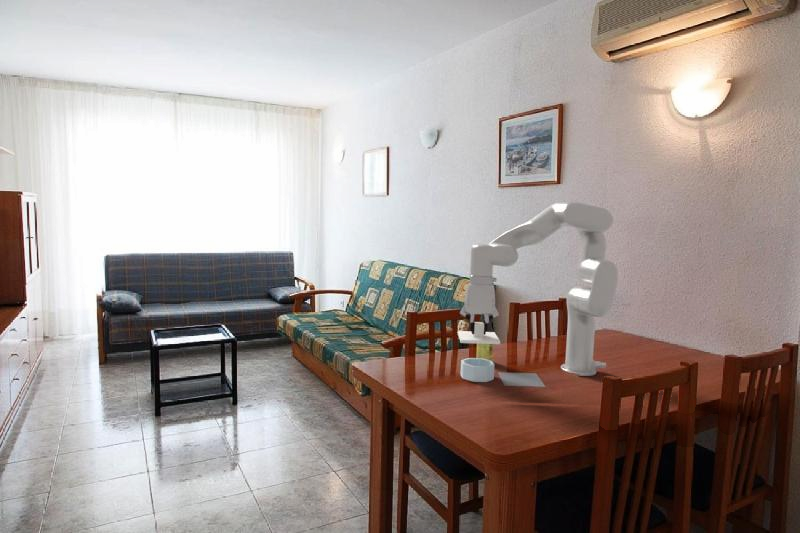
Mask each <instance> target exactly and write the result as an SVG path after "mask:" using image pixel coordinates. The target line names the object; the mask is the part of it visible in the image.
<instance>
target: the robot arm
mask: <svg viewBox="0 0 800 533" xmlns="http://www.w3.org/2000/svg"><path fill="white" fill-rule="evenodd" d="M613 220H614V217H613V215H612V213H611V212H610V210H609V209H607V208H604V207H602V206H596V205H590V204H586V203H583V202H582V203H581V202H577V201H557V202H554V203H552V204H550V205H549V206H548V207H546V208H545V209H544V210H542V211H541V212H540V213H538V214H537V215H535V216H534V217H532V218H531V219H530V220H528V221H526V222H525V223H523V224H520V225H518V226H517V227H516V226H515V227H514V228H512V229H510V230H507V231H506V232H504V233H502V234H501V235H500V236H497V237H496V238H495V239H494V240H492V241H491V242H489V243H488V244H486V243H485V244H484V243H476V244H473V245H472V246H471V250H470V270H469V271H470V272H469V283H466V287H465V288H466V289H465V295H464V303H463V304H464V305H463V306H462V308H461V310H460V311H459V314H460V315H461V316H462V317H464V318H466V319H467V320H468V321H469V331H471V333H472V334H474V329H475V323H474V322H475V315H481V314H484V321H483V323H484V335H486V332H487V330H488V323H489V321H491V322H492V320H493V319H494V318H497V317H498V316H500V314H499V312H498V310H497V307H496V292H495V285H494V284H493V283H494V282H495V283H496V282H497V277H494V276H493V271H494V266H496V267H503V268H506V267H507V268H509V267H511V266H513V265H515V264H516V263H517V261H518V260H519V253H518V249H520V248H523V247H527V246H533V245H536V244H541V243H542V242H543V241H545V240H546V239H548V238H549V237H551V236H552V235H553V234H555V233H556V232H557V231H558V230H561V228H563V227H570V228H571V227H572V228H574V229H575V230H576V231H577V232H578V235H579V237H580V241H581V242H580V244H581V245H580V250H579V256H578V260H577V265H576V272H575V273H576V278H577V279H578V280H579V281H581V282H583V283H586V284H589V285H591V287H589V286H584V285H577V286H574V287H572V288H571V289H570V290H569V291H568V292H567V294H566V308H567V329H566V330H567V331H566V343H565V346H566V348H565V361H564V362H565V363H563V364H561V365H560V369H561V370H562V371H564V372H567V373H570V374H573V375H577V376H578V377H590V376H595V375H596V374H597V370H598V368H600V369H606V368H607V363H606V362H601V361H599V360H598V361H596V360H594V345H595V333H596V332H595V331H596V320H595V318H603V317H606V316H607V315H608V314H609V313H610V311H611V310H612V307H613V304H614V300H615V295H616V290H617V285H618V280H619V270H618V267H617V265H616V264H615V263H614V262H613V261H611V260H610V259H606V258H605V255H606V251H607V250H606V249H607V240H606V235H605V232H607V231H609V229H611V228H612V226H613V223H614V221H613ZM489 314H491V315H489Z"/></svg>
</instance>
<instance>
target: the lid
mask: <svg viewBox="0 0 800 533" xmlns="http://www.w3.org/2000/svg"><path fill="white" fill-rule="evenodd" d="M474 323H475V329H474V334H472V333H471V331H470V330H467V331H466V330H465V331H464V330H457V336H458V339H459V342H460V343H461V344H476V345H477V344H494V345H501V340H500V338H499V337H498V335H497V334H496V332H494V331H493V332H486V335H484V323H483V322H481V321H474Z"/></svg>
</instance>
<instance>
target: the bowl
mask: <svg viewBox="0 0 800 533" xmlns="http://www.w3.org/2000/svg"><path fill="white" fill-rule="evenodd" d="M459 374H460V375H459V376H461V378H462V380H466V381H469V382H473V383H488V382H491V381H493V380H494V379H495V378H494V377H495V363H494V362H493V361H490V360H486V359H482V358H476V357H468V358H464V359H461V360H460V373H459Z"/></svg>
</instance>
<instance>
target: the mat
mask: <svg viewBox="0 0 800 533" xmlns="http://www.w3.org/2000/svg"><path fill="white" fill-rule="evenodd" d="M497 373H498V376H499V378H500V380H501V382H502V383H503V385H504V386H506V387H507V386H511V387H535V388H536V387H537V388H538V387H539V388H546V385H545V384H544V382H543V380H541V378H540V377H539V376H538V374H537V373H536V372H535V373H529V372H528V373H527V372H502V371H501V372H500V371H499V372H497Z"/></svg>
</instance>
